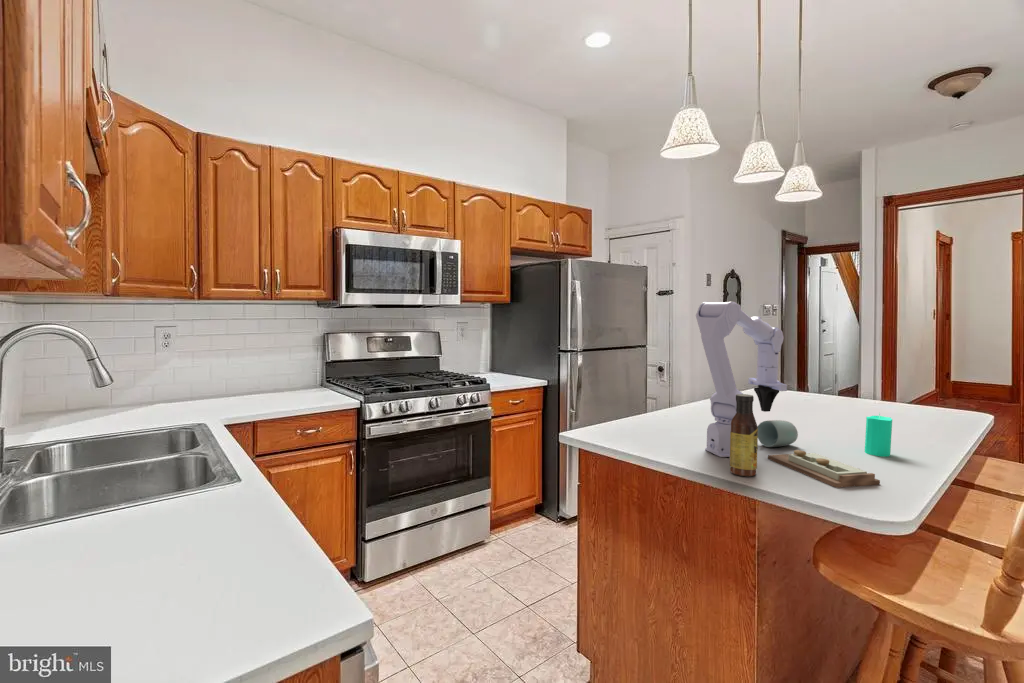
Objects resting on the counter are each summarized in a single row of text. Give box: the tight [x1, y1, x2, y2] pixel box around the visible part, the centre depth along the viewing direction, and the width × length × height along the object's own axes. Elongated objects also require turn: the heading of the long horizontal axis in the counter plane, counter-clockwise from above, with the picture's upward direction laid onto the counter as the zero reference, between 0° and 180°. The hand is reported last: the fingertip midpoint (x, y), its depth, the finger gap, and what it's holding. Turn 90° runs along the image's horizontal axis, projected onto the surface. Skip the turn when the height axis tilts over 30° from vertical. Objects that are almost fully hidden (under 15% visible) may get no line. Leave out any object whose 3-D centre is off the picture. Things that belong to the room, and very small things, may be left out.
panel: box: [788, 452, 868, 480], centre depth 127 cm, size 8×16×2 cm, turn 11°
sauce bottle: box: [729, 393, 759, 477], centre depth 126 cm, size 6×6×20 cm
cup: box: [757, 419, 799, 448], centre depth 153 cm, size 8×8×10 cm
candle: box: [864, 412, 893, 458], centre depth 145 cm, size 6×6×12 cm
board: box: [767, 449, 881, 489], centre depth 129 cm, size 12×23×4 cm, turn 11°
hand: (765, 411), depth 153 cm, fingers closed
